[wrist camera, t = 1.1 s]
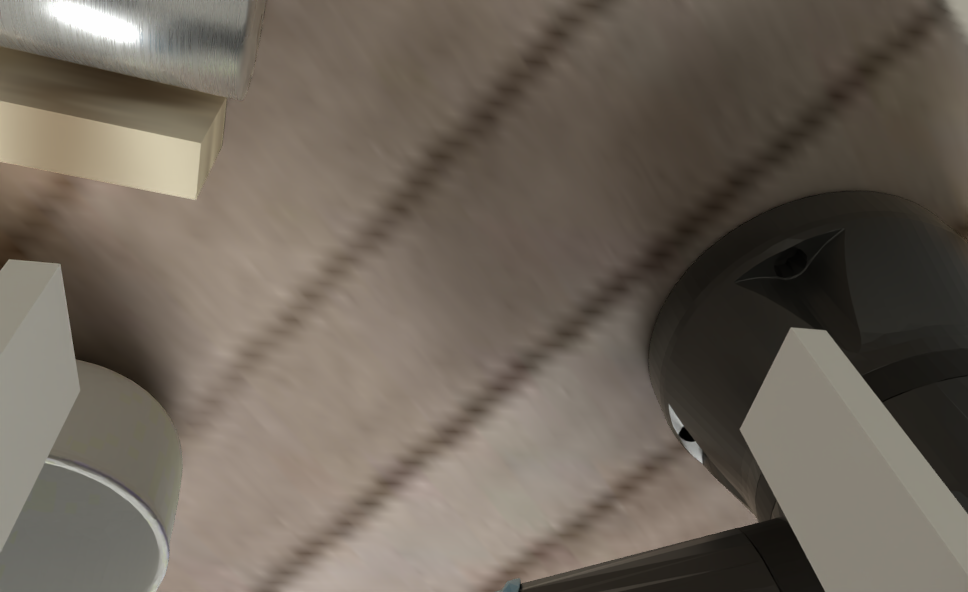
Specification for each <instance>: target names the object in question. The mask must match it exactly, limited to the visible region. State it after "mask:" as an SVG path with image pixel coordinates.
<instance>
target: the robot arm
mask: <svg viewBox="0 0 968 592" xmlns="http://www.w3.org/2000/svg"><path fill="white" fill-rule="evenodd" d="M649 372H650V379H651V383H652V387H653V390H654V393H655V395H656V397H657V400H658V402H659V404H660V407H661V409H662V411H663V413H664V416H665V418H666V420H667V423H668V425H669V427H670V428H671V430H672V432H673V433H674V435H675V436H676V438H677V439H678V440H679V442H680V443H681V444H682V445H683V447H684V448H685V449H686V450H687V451H688V452H689V453H690V454H691V455H692V456H694V457H695V458H696V459H697V460H698V461H699V462H701V463H702V464H703V465H704V466H705V467H706V468H707V469H708V471H709V472H710V473H711V474H712V475H713V476H714V477H715V478H716V479H717V480H718V481H719V482H720V483H721V484H723V485H724V486H725V487H726V488H727V489H728V490H729V491H730V492H731V493H732V494H733V495H734V496H735V497H736V498H737V499H738V500H739V501H740V502H741V503H742V504H744V505H745V506H746V507H747V508H748V509H749V510H750V511H751V512H752V513H753V514H754V515H755V516H756V518H757V520H758V522H759V523H756V524H752V525H748V526H744V527H741V528H735V529H732V530H728V531H724V532H720V533H716V534H712V535H708V536H705V537H701V538H697V539H693V540H689V541H685V542H681V543H677V544H673V545H670V546H666V547H662V548H658V549H654V550H650V551H646V552H642V553H639V554H635V555H631V556H627V557H623V558H619V559H615V560H611V561H608V562H604V563H600V564H596V565H592V566H588V567H584V568H580V569H577V570H573V571H569V572H565V573H561V574H557V575H553V576H549V577H545V578H542V579H538V580H534V581H530V582H526V583H522V584H521V580H520V578H518V579H513V580H511V581H507V583H506V584H505V586H504V588H503V589H502V590H499V591H496V592H968V242H967V241H966V240H965V239H964V238H963V237H961V236H960V235H959V234H958V233H956V232H955V231H954V230H953V229H951V228H950V227H949V226H948V225H946V224H945V223H944V222H943V221H941V220H940V219H939V218H938V217H936V216H935V215H934V214H933V213H931V212H930V211H928V210H927V209H925V208H923V207H922V206H920V205H918V204H916V203H914V202H911V201H909V200H906V199H903V198H900V197H897V196H893V195H888V194H883V193H876V192H864V191H848V192H835V193H828V194H822V195H816V196H812V197H808V198H804V199H800V200H797V201H794V202H790V203H788V204H785V205H782V206H779V207H777V208H775V209H772V210H770V211H768V212H765V213H763V214H761V215H759V216H757V217H755V218H753V219H751V220H750V221H748V222H746V223H745V224H743V225H741V226H739V227H738V228H736V229H735V230H733V231H732V232H730V233H729V234H727V235H726V236H725V237H723V238H722V239H721V240H719V241H718V242H717V243H715V244H714V245H713V246H712V247H711V248H709V249H708V250H707V251H706V252H705V253H704V254H703V255H702V256H701V257H700V258H699V259H698V260H697V261H696V262H695V263H694V264H693V265H692V266H691V267H690V268H689V269H688V270H687V271H686V273H685V274H684V275H683V276H682V278H681V279H680V280H679V281H678V283H677V284H676V286H675V287H674V288H673V290H672V292H671V293H670V295H669V296H668V298H667V300H666V302H665V303H664V305H663V307H662V309H661V311H660V314H659V316H658V318H657V321H656V324H655V327H654V330H653V333H652V337H651V342H650V348H649ZM79 392H80V385H79V379H78V372H77V366H76V360H75V353H74V347H73V341H72V334H71V328H70V321H69V315H68V309H67V302H66V296H65V290H64V283H63V277H62V270H61V264H58V263H46V262H35V261H23V260H12V259H9V260H8V261H7V262H6V264H5V265H4V266H3V268H2V269H1V270H0V553H1V551H2V549H3V547H4V544H5V542H6V540H7V538H8V536H9V534H10V532H11V530H12V528H13V526H14V524H15V522H16V520H17V518H18V516H19V514H20V512H21V510H22V508H23V506H24V504H25V502H26V500H27V498H28V496H29V494H30V492H31V490H32V488H33V486H34V484H35V482H36V479H37V477H38V475H39V473H40V471H41V469H42V467H43V465H44V463H45V461H46V459H47V457H48V455H49V453H50V451H51V449H52V447H53V445H54V443H55V441H56V439H57V437H58V435H59V433H60V431H61V429H62V427H63V425H64V423H65V421H66V419H67V417H68V415H69V412H70V410H71V408H72V406H73V404H74V402H75V400H76V398H77V396H78V394H79Z"/></svg>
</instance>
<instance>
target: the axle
mask: <svg viewBox="0 0 968 592" xmlns="http://www.w3.org/2000/svg"><path fill="white" fill-rule="evenodd" d="M265 4H266V0H0V46H3V47H7V48H11V49H16V50H20V51H25V52H29V53H33V54H38V55H42V56H47V57H51V58H55V59H60V60H64V61H69V62H73V63H77V64H82V65H86V66H91V67H95V68H99V69H104V70H108V71H113V72H117V73H121V74H126V75H130V76H135V77H139V78H143V79H148V80H152V81H157V82H161V83H165V84H170V85H174V86H179V87H183V88H187V89H192V90H196V91H201V92H205V93H209V94H214V95H218V96H223V97H227V98H231V99H236V100H240V101H242V100H243V99H244V98H245V96H246V94H247V91H248V88H249V85H250V82H251V79H252V75H253V71H254V67H255V62H256V58H257V53H258V48H259V43H260V37H261V31H262V25H263V19H264V12H265Z"/></svg>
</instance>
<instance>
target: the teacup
mask: <svg viewBox="0 0 968 592" xmlns="http://www.w3.org/2000/svg"><path fill="white" fill-rule="evenodd" d="M75 360H76V359H75ZM76 366H77V372H78V379H79V385H80V392H79V394H78V396H77V398H76V400H75V402H74V404H73V406H72V408H71V410H70V412H69V415H68V417H67V419H66V421H65V423H64V425H63V427H62V429H61V431H60V433H59V435H58V437H57V439H56V441H55V443H54V445H53V447H52V449H51V451H50V453H49V455H48V457H47V459H46V461H45V463H44V465H43V467H42V469H41V471H40V473H39V475H38V477H37V479H36V482H35V484H34V486H33V488H32V490H31V492H30V494H29V496H28V498H27V500H26V502H25V504H24V506H23V508H22V510H21V512H20V514H19V516H18V518H17V520H16V522H15V524H14V526H13V528H12V530H11V532H10V534H9V536H8V538H7V540H6V542H5V544H4V547H3V549H2V551H1V553H0V592H156V590H157V589H158V587H159V585H160V583H161V582H162V580H163V578H164V576H165V573H166V570H167V566H168V561H169V551H170V549H169V543H170V538H171V534H172V530H173V525H174V520H175V515H176V510H177V505H178V499H179V492H180V485H181V478H182V451H181V446H180V440H179V437H178V434H177V431H176V429H175V427H174V425H173V423H172V421H171V419H170V417H169V416H168V414H167V413H166V411H165V410H164V408H163V407H162V406H161V405H160V404H159V403H158V402H157V401H156V400H155V399H154V398H153V397H152V396H151V395H150V394H149V393H148V392H147V391H146V390H144V389H143V388H142V387H140V386H139V385H138V384H136V383H135V382H133V381H132V380H130V379H128V378H126V377H124V376H122V375H120V374H118V373H116V372H114V371H112V370H110V369H107V368H105V367H102V366H99V365H96V364H93V363H89V362H85V361H81V360H76Z"/></svg>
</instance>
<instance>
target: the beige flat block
mask: <svg viewBox="0 0 968 592" xmlns="http://www.w3.org/2000/svg"><path fill="white" fill-rule="evenodd" d="M226 105H227V97H223V96H218V95H214V94H209V93H205V92H201V91H196V90H192V89H187V88H183V87H179V86H174V85H170V84H165V83H161V82H157V81H152V80H148V79H143V78H139V77H135V76H130V75H126V74H121V73H117V72H113V71H108V70H104V69H99V68H95V67H91V66H86V65H82V64H77V63H73V62H69V61H64V60H60V59H55V58H51V57H47V56H42V55H38V54H33V53H29V52H25V51H20V50H16V49H11V48H7V47H3V46H0V162H4V163H9V164H14V165H19V166H25V167H30V168H35V169H40V170H45V171H50V172H55V173H60V174H65V175H71V176H76V177H81V178H86V179H91V180H96V181H101V182H106V183H111V184H117V185H122V186H127V187H132V188H137V189H142V190H147V191H152V192H157V193H163V194H168V195H173V196H178V197H183V198H188V199H193V200H196V199H197V197H198V195H199V193H200V191H201V189H202V187H203V185H204V182H205V180H206V178H207V176H208V174H209V172H210V170H211V168H212V166H213V164H214V162H215V160H216V158H217V156H218V154H219V152H220V150H221V147H222V144H223V134H224V124H225V115H226Z"/></svg>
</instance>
